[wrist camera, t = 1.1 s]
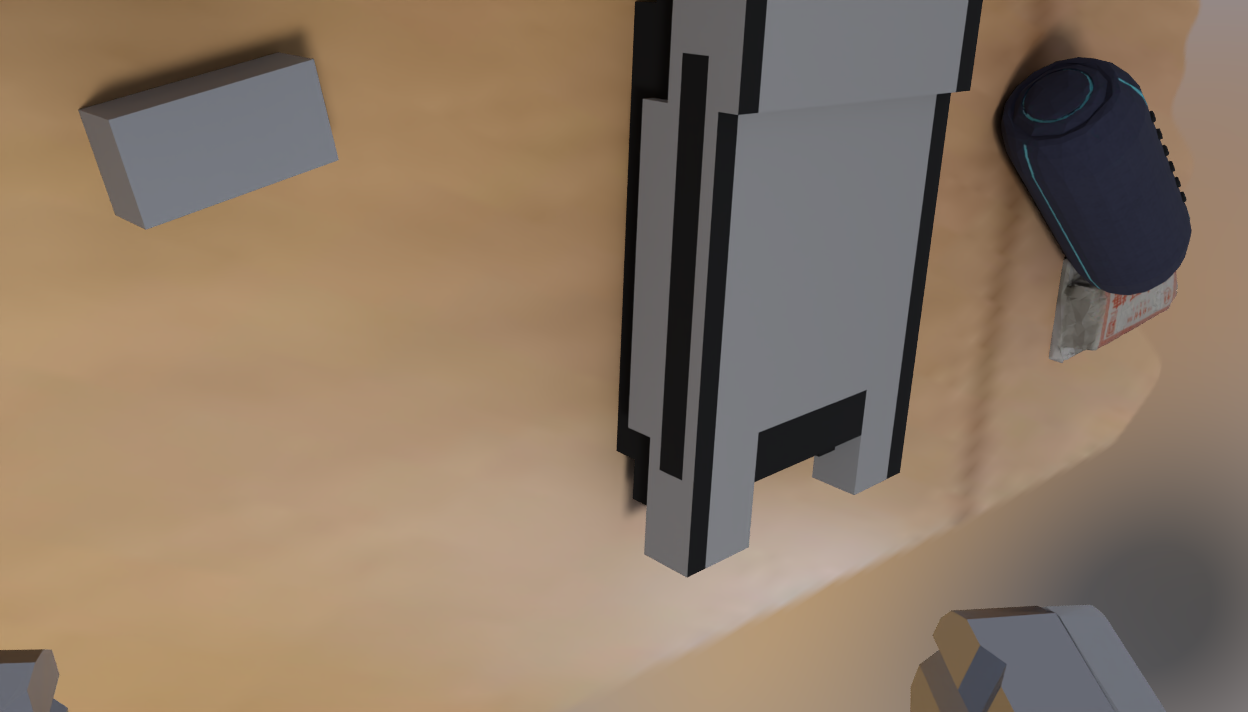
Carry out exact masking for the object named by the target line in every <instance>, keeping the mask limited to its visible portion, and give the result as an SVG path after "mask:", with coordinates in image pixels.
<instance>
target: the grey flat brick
mask: <svg viewBox="0 0 1248 712" xmlns="http://www.w3.org/2000/svg"><path fill="white" fill-rule="evenodd" d="M78 111H79V113H80V116H81V119H82V122H83V125H84V128H85V130H86V133H87V136H88V139H89V142H90V144H91V147H92V150H93V153H94V156H95V159H96V161H97V164H98V167H99V170H100V173H101V176H102V178H103V181H104V184H105V187H106V190H107V193H108V195H109V198H110V201H111V204H112V207H113V210H114V212H115V215H116V216H119V217H121V218H123V219H125V220H127V221H129V222H131V223H133V224H135V225H137V226H139V227H141V228H144V229H149V228H152V227H154V226H157V225H160V224H163V223H165V222H168V221H171V220H174V219H177V218H179V217H182V216H185V215H188V214H190V213H193V212H196V211H199V210H201V209H204V208H207V207H210V206H212V205H215V204H218V203H221V202H224V201H226V200H229V199H232V198H235V197H237V196H240V195H243V194H246V193H248V192H251V191H254V190H257V189H260V188H262V187H265V186H268V185H271V184H273V183H276V182H279V181H282V180H284V179H287V178H290V177H293V176H296V175H298V174H301V173H304V172H307V171H309V170H312V169H315V168H318V167H320V166H323V165H326V164H329V163H332V162H334V161H337V160H338V156H337V152H336V148H335V143H334V139H333V135H332V131H331V127H330V123H329V119H328V115H327V111H326V107H325V103H324V99H323V95H322V91H321V87H320V83H319V79H318V75H317V71H316V67H315V63H314V59H310V58H305V57H300V56H295V55H289V54H284V53H279V52H278V53H274V54H271V55H267V56H264V57H260V58H257V59H253V60H250V61H247V62H243V63H240V64H236V65H233V66H229V67H226V68H222V69H219V70H215V71H212V72H208V73H205V74H201V75H198V76H194V77H191V78H187V79H184V80H180V81H177V82H174V83H170V84H167V85H163V86H160V87H156V88H153V89H149V90H146V91H142V92H139V93H135V94H132V95H128V96H125V97H121V98H118V99H114V100H111V101H107V102H104V103H101V104H97V105H94V106H90V107H87V108H83V109H80V110H78Z"/></svg>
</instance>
